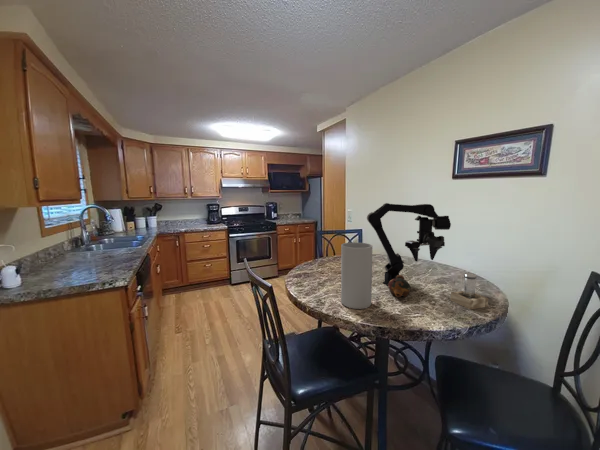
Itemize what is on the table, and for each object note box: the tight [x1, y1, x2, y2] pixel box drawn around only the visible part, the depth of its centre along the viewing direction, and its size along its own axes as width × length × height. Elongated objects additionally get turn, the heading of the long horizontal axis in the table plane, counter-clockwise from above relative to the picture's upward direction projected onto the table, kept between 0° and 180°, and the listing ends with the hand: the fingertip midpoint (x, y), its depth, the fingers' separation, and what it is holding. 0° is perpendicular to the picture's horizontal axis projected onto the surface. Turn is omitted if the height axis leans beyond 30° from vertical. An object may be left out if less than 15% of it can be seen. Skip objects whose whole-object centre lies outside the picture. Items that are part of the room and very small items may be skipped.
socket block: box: [450, 290, 489, 310], centre depth 100 cm, size 9×9×4 cm
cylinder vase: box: [340, 242, 373, 310], centre depth 101 cm, size 12×12×25 cm
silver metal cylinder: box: [462, 272, 477, 299], centre depth 100 cm, size 4×4×12 cm
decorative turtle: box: [387, 274, 412, 298], centre depth 110 cm, size 10×15×8 cm, turn 160°
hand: (424, 260), depth 120 cm, fingers open, 9 cm apart
